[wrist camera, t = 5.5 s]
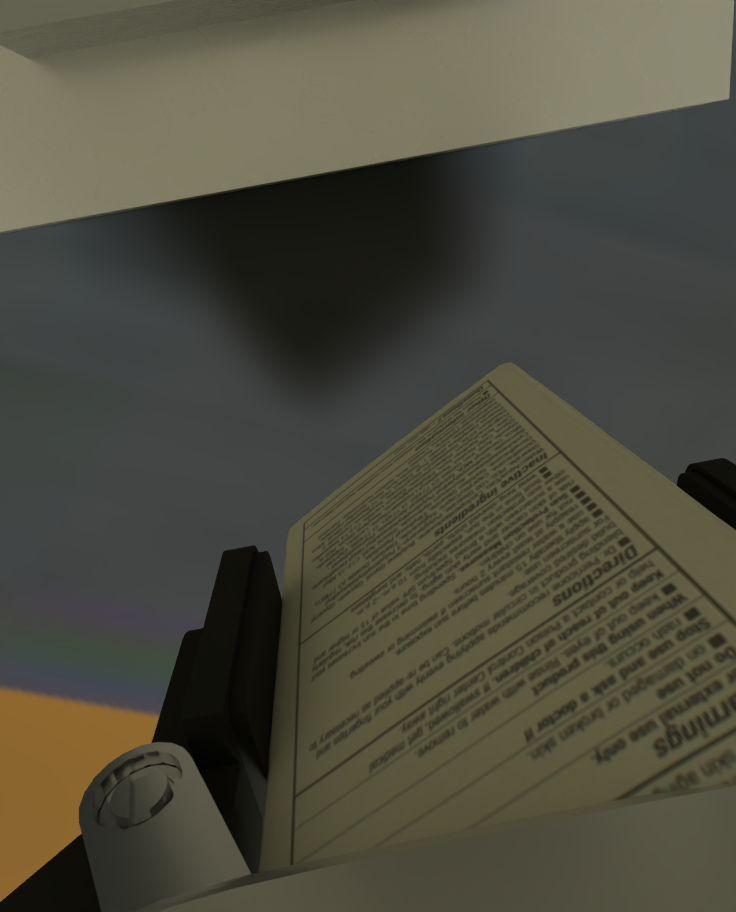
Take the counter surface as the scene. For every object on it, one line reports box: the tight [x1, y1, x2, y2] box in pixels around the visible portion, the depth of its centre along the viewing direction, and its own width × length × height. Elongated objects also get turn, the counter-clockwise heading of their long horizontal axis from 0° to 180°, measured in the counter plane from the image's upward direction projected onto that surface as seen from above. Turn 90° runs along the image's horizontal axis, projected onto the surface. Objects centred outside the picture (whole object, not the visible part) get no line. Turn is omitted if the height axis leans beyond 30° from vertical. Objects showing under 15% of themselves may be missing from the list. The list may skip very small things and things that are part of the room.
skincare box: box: [259, 363, 736, 872], centre depth 8 cm, size 6×4×12 cm
